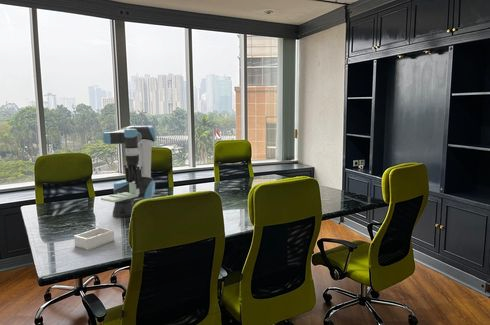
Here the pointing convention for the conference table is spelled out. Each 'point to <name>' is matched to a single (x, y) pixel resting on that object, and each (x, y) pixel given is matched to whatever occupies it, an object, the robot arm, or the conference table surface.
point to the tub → (94, 238)
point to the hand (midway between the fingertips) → (134, 193)
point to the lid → (122, 194)
